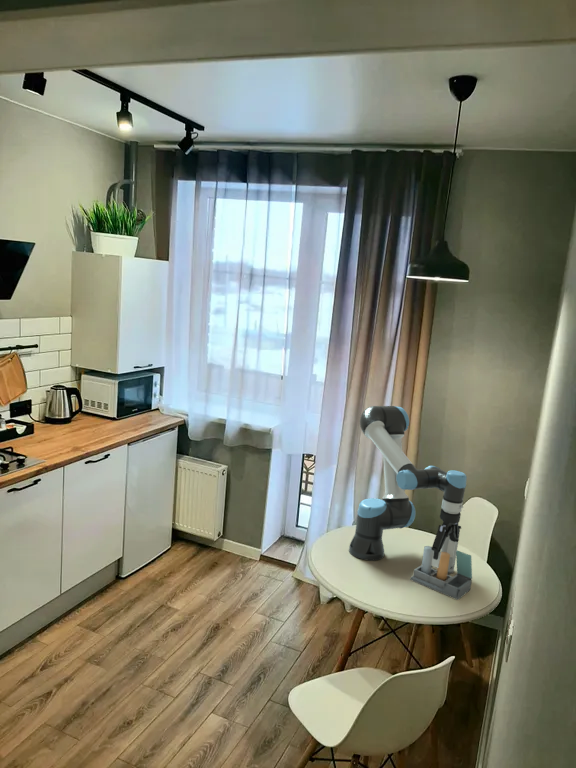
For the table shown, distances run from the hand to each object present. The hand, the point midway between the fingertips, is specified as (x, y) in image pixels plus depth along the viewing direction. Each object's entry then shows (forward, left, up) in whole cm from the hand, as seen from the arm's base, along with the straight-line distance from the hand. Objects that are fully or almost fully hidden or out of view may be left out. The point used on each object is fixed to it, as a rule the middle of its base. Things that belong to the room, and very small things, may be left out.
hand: (442, 561), depth 226 cm
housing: (0, 0, -10) cm, 10 cm away
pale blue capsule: (-6, 0, -10) cm, 11 cm away
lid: (+7, +3, 0) cm, 8 cm away
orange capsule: (+1, 0, -9) cm, 9 cm away
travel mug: (-3, +14, -10) cm, 18 cm away
